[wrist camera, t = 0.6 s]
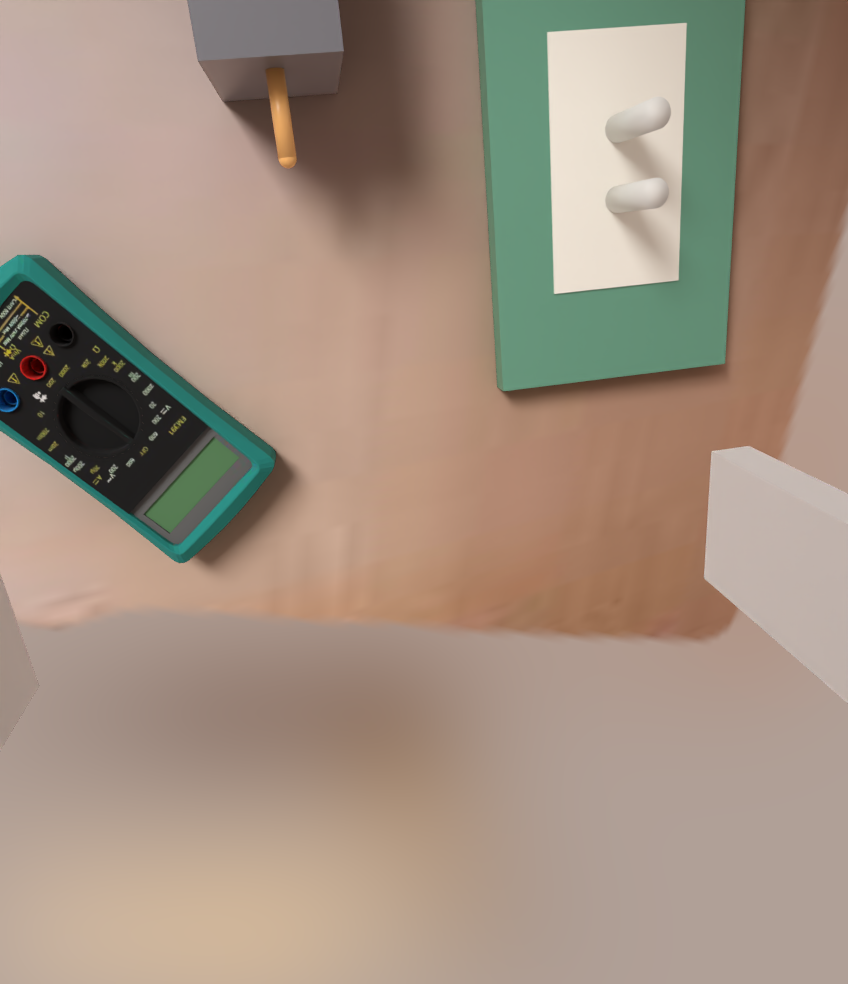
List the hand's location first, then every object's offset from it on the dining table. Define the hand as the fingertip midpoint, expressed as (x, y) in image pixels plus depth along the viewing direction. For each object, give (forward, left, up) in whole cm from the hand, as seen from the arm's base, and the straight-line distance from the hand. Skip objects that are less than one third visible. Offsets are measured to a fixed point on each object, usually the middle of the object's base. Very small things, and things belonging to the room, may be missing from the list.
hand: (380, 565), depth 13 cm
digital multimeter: (+1, -11, -24) cm, 26 cm away
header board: (-8, +14, -23) cm, 28 cm away
